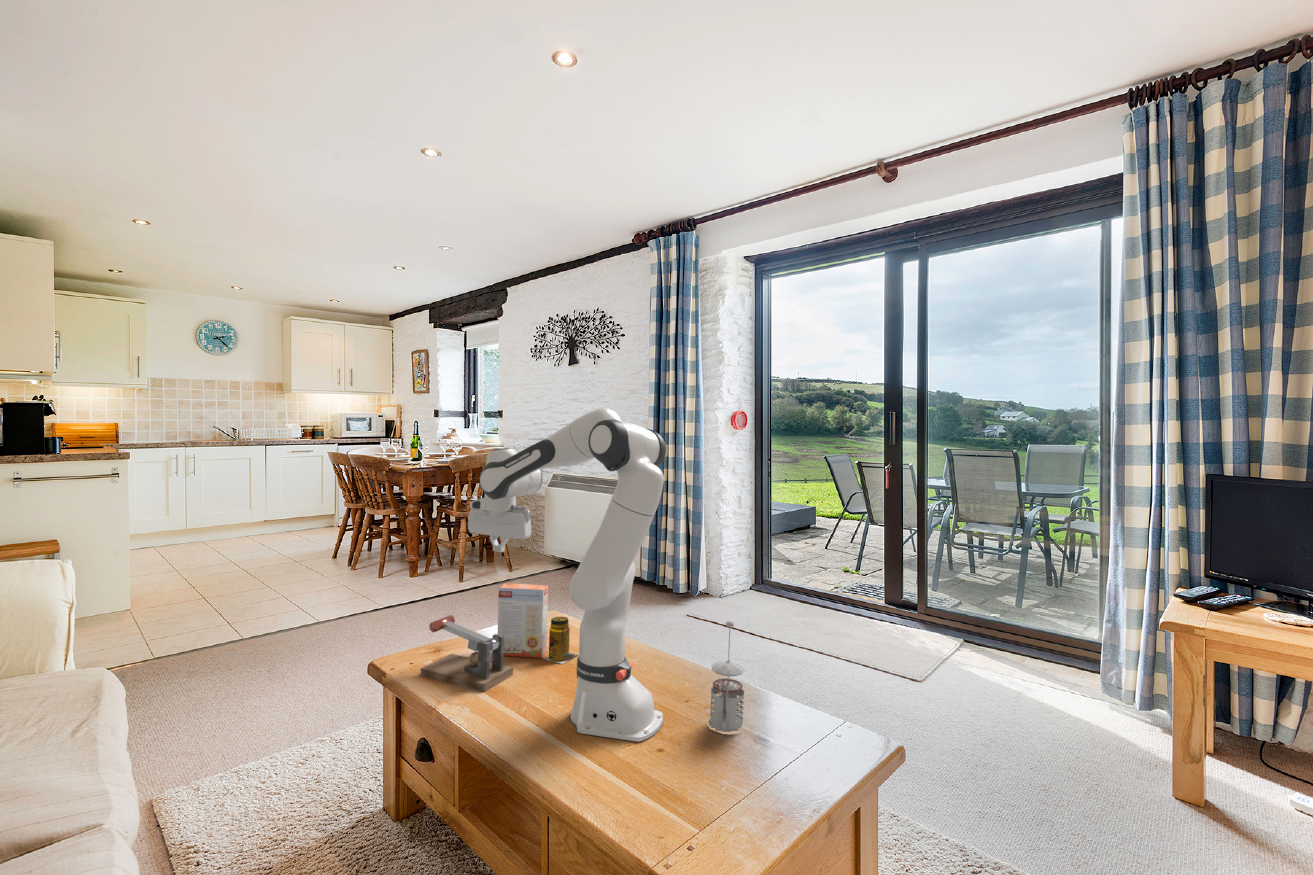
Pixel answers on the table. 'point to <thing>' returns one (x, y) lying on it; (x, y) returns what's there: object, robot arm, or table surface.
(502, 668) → the tabletop arbor press
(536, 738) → the table surface
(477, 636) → the lever
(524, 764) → the table surface
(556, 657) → the condiment
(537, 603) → the cracker box
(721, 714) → the french press
